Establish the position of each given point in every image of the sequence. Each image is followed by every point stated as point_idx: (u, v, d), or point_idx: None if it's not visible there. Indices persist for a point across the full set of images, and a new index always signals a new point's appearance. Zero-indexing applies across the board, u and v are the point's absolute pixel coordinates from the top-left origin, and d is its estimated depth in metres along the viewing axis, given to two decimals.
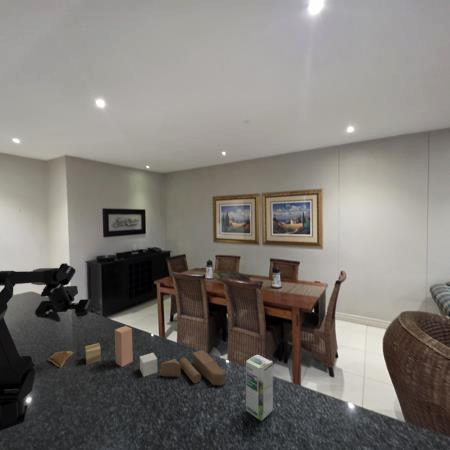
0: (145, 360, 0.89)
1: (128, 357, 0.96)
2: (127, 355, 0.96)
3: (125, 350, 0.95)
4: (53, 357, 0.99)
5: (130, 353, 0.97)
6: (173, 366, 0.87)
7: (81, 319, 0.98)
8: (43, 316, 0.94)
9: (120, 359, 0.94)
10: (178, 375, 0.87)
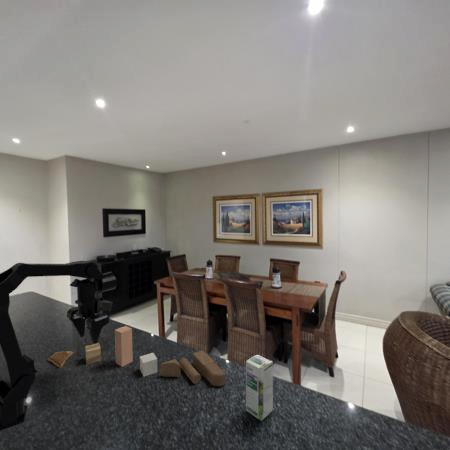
0: (145, 360, 0.89)
1: (128, 357, 0.96)
2: (127, 355, 0.96)
3: (125, 350, 0.95)
4: (53, 357, 0.99)
5: (130, 353, 0.97)
6: (173, 366, 0.87)
7: (91, 337, 0.84)
8: (70, 318, 0.89)
9: (120, 359, 0.94)
10: (178, 375, 0.87)
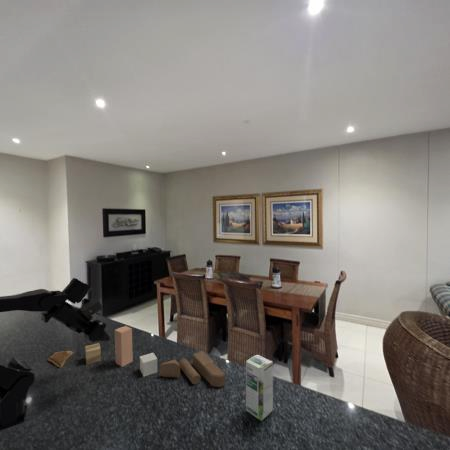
0: (145, 360, 0.89)
1: (128, 357, 0.96)
2: (127, 355, 0.96)
3: (125, 350, 0.95)
4: (53, 357, 0.99)
5: (130, 353, 0.97)
6: (173, 367, 0.87)
7: (101, 340, 0.85)
8: None
9: (120, 359, 0.94)
10: (178, 376, 0.87)
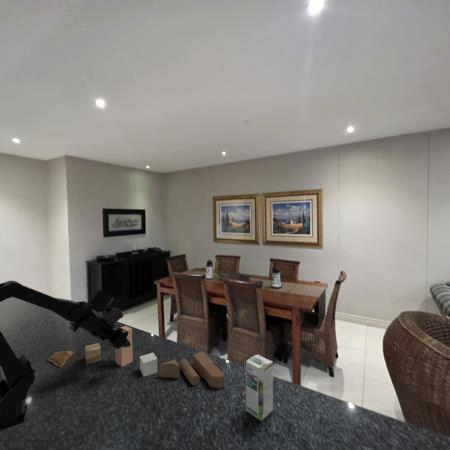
0: (145, 360, 0.89)
1: (128, 357, 0.96)
2: (127, 355, 0.96)
3: (125, 350, 0.95)
4: (53, 357, 0.99)
5: (130, 353, 0.97)
6: (172, 367, 0.87)
7: None
8: None
9: (120, 359, 0.94)
10: (177, 376, 0.87)
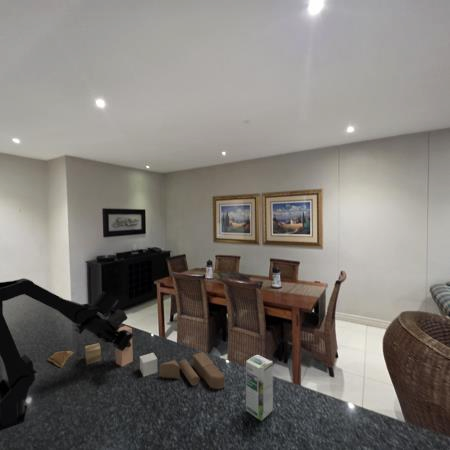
0: (145, 360, 0.89)
1: (128, 357, 0.96)
2: (127, 355, 0.96)
3: (125, 349, 0.95)
4: (53, 357, 0.99)
5: (130, 353, 0.97)
6: (172, 367, 0.86)
7: None
8: (99, 338, 0.96)
9: (120, 359, 0.94)
10: (177, 377, 0.86)
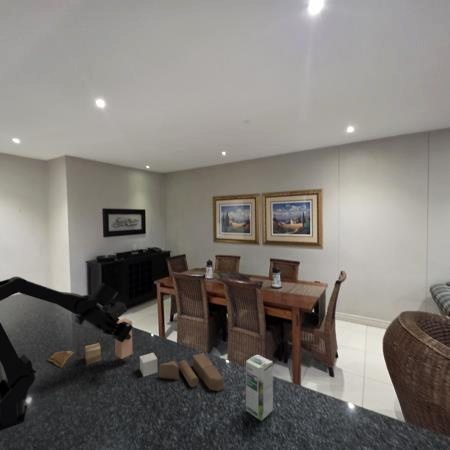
0: (145, 360, 0.89)
1: (127, 349, 0.96)
2: (126, 347, 0.96)
3: (125, 342, 0.95)
4: (53, 357, 0.99)
5: (130, 345, 0.97)
6: (171, 368, 0.86)
7: None
8: None
9: (120, 351, 0.94)
10: (176, 378, 0.86)
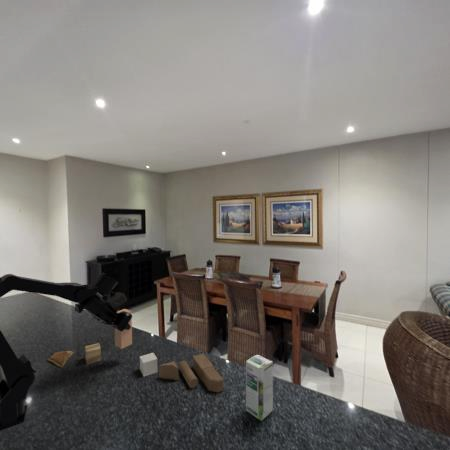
0: (145, 360, 0.89)
1: (127, 339, 0.96)
2: (126, 337, 0.95)
3: (125, 332, 0.95)
4: (53, 357, 0.99)
5: (129, 336, 0.97)
6: (171, 369, 0.86)
7: None
8: (99, 321, 0.96)
9: (119, 341, 0.94)
10: (176, 378, 0.86)
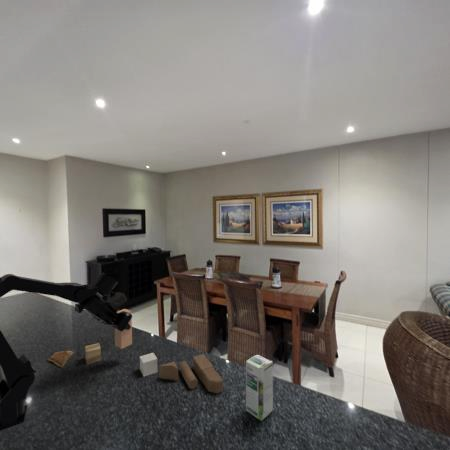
0: (145, 360, 0.89)
1: (127, 339, 0.96)
2: (126, 337, 0.95)
3: (125, 332, 0.95)
4: (54, 357, 0.99)
5: (129, 336, 0.97)
6: (171, 369, 0.86)
7: None
8: (99, 321, 0.96)
9: (119, 341, 0.94)
10: (176, 379, 0.85)
